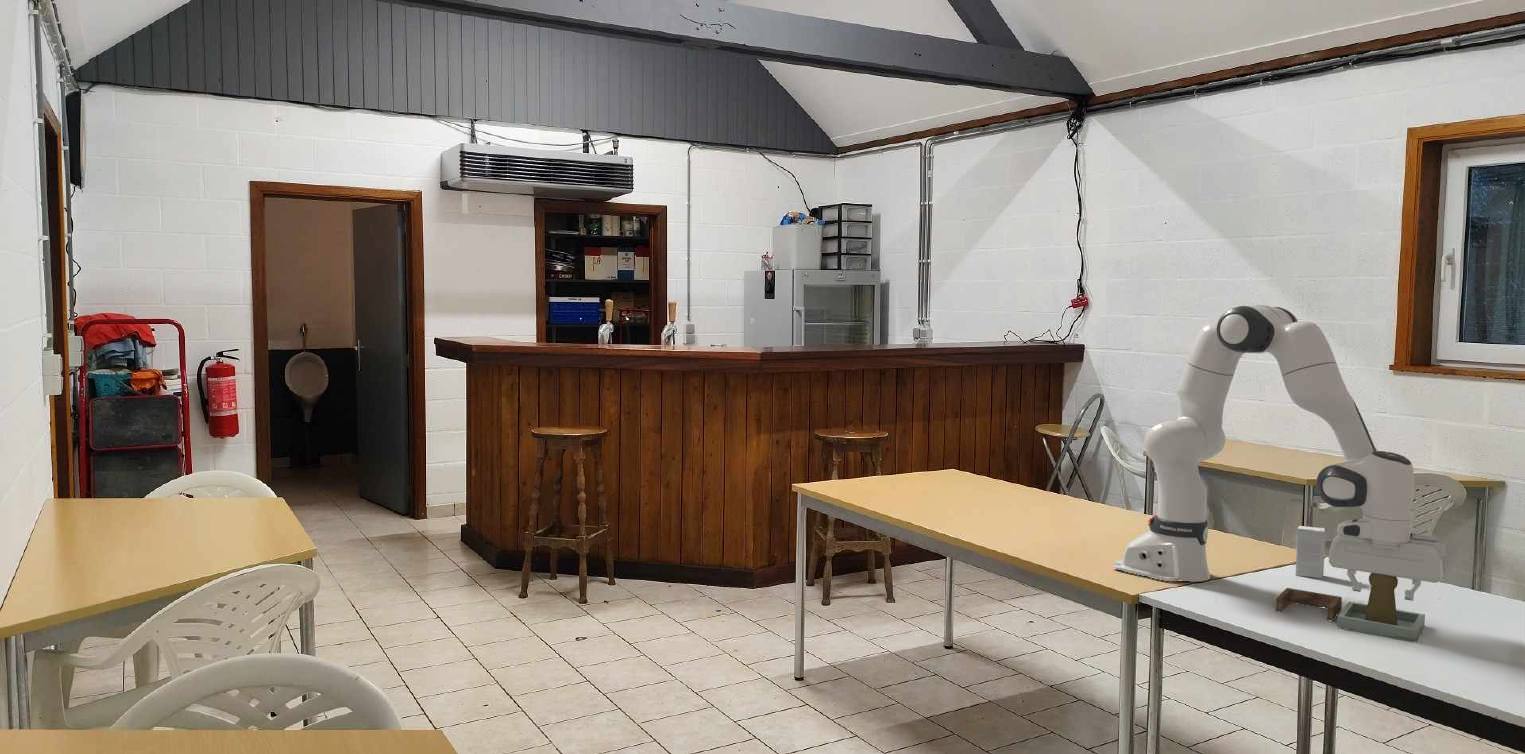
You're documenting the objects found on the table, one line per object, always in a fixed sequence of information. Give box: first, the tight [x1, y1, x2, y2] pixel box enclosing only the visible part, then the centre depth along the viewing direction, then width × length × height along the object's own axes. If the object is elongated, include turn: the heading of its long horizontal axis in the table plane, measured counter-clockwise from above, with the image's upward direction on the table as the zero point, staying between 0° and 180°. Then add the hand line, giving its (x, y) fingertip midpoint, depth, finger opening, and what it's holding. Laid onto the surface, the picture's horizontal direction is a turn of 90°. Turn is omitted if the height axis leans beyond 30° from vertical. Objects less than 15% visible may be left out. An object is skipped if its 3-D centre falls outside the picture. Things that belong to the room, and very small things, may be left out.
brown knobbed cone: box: [1364, 573, 1399, 626], centre depth 211 cm, size 6×6×11 cm
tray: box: [1336, 601, 1426, 643], centre depth 211 cm, size 14×14×2 cm
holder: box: [1275, 587, 1343, 622], centre depth 222 cm, size 11×10×3 cm
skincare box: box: [1295, 525, 1326, 580], centre depth 252 cm, size 6×4×12 cm
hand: (1382, 595), depth 211 cm, fingers open, 8 cm apart
